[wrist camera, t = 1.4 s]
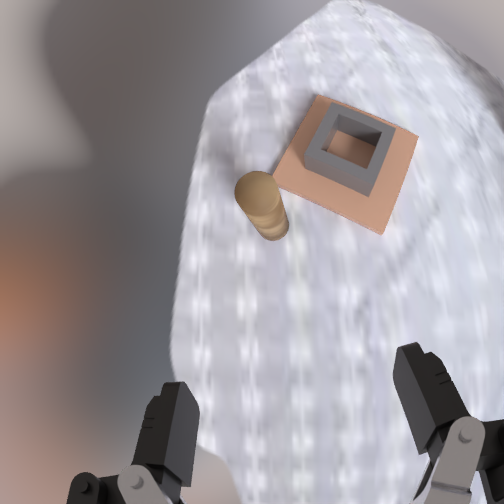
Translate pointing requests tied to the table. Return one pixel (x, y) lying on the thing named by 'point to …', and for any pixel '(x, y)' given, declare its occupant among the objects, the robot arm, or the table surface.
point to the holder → (347, 162)
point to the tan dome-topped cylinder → (262, 204)
